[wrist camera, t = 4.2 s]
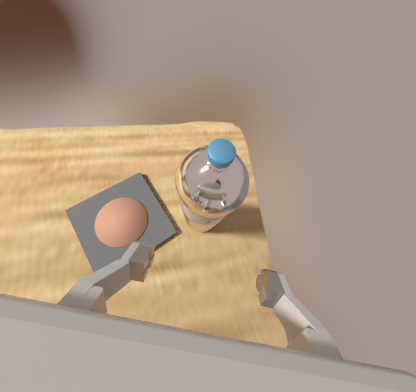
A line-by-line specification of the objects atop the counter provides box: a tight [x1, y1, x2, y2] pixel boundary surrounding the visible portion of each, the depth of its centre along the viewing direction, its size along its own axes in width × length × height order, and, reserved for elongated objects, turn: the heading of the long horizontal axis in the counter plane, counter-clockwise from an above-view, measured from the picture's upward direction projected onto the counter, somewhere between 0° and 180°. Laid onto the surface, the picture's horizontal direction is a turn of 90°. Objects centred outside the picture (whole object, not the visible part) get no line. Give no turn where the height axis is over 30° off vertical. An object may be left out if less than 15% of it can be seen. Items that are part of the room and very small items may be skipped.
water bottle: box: [175, 139, 249, 232], centre depth 21 cm, size 7×7×25 cm
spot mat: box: [66, 173, 177, 272], centre depth 31 cm, size 16×16×1 cm
